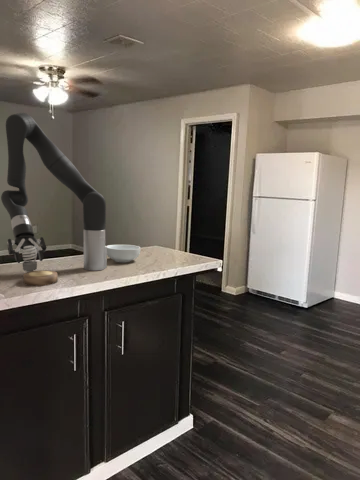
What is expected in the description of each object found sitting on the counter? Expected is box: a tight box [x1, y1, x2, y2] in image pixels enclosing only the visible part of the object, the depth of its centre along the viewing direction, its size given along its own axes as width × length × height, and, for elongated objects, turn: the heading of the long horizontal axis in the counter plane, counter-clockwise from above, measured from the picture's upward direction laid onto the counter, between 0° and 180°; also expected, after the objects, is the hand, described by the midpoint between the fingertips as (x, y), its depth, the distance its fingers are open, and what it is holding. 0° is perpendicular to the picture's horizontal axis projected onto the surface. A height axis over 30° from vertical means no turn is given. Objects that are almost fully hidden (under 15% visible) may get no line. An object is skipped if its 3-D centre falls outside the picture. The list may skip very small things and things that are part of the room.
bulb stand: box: [22, 269, 58, 287], centre depth 147 cm, size 12×12×3 cm
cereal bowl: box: [105, 244, 141, 263], centre depth 190 cm, size 17×17×7 cm
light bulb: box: [21, 246, 38, 273], centre depth 155 cm, size 6×6×12 cm
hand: (30, 260), depth 154 cm, fingers open, 8 cm apart
